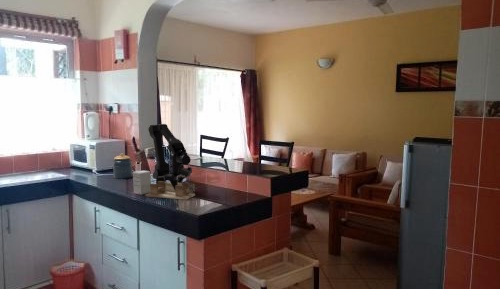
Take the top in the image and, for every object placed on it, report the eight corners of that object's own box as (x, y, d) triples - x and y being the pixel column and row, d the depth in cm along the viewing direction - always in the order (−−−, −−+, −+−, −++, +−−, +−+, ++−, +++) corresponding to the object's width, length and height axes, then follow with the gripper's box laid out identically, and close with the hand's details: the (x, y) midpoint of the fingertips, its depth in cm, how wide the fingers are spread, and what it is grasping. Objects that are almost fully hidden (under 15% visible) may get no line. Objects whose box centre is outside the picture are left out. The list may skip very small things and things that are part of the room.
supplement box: (144, 191, 222) (143, 170, 221) (151, 192, 218) (150, 171, 216) (133, 193, 217) (132, 171, 215) (140, 194, 212) (139, 173, 211)
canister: (128, 178, 264) (127, 154, 262) (110, 178, 264) (109, 154, 262) (134, 175, 277) (133, 151, 275) (117, 175, 277) (116, 152, 275)
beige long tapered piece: (155, 192, 217) (155, 180, 217) (195, 195, 209) (194, 183, 208) (145, 196, 208) (144, 184, 207) (186, 199, 199) (185, 186, 199)
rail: (164, 190, 221) (164, 181, 220) (194, 192, 214) (194, 183, 214) (161, 191, 218) (160, 182, 217) (191, 193, 211) (191, 184, 210)
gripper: (180, 166, 203) (181, 194, 204) (196, 161, 220) (197, 187, 222) (163, 165, 207) (164, 193, 208) (180, 160, 224) (181, 186, 225)
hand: (177, 189), depth 216 cm, fingers closed on rail, 3 cm apart
